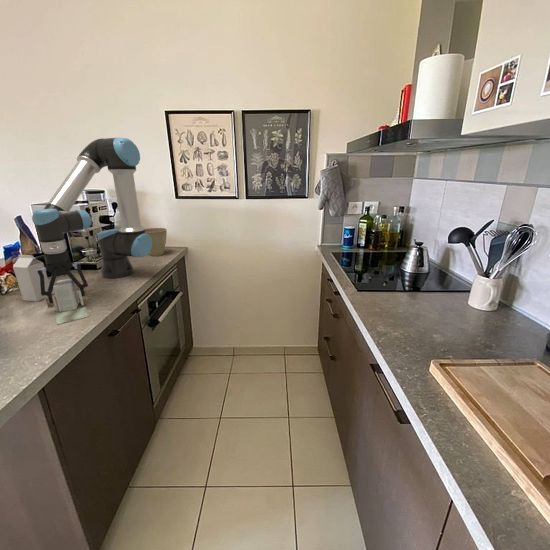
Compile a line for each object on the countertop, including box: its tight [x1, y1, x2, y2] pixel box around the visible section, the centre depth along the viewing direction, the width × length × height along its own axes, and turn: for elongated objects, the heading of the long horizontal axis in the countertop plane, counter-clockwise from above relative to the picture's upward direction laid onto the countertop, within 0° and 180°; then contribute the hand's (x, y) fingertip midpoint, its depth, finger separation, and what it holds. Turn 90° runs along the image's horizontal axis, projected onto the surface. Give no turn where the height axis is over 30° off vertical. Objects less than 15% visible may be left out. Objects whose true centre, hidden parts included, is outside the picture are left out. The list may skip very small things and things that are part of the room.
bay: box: [44, 289, 90, 326], centre depth 116 cm, size 14×20×4 cm
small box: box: [53, 278, 80, 313], centre depth 118 cm, size 8×6×10 cm
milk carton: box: [12, 254, 50, 302], centre depth 126 cm, size 7×7×19 cm
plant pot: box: [145, 227, 168, 257], centre depth 190 cm, size 15×15×16 cm
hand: (69, 306), depth 119 cm, fingers open, 8 cm apart
